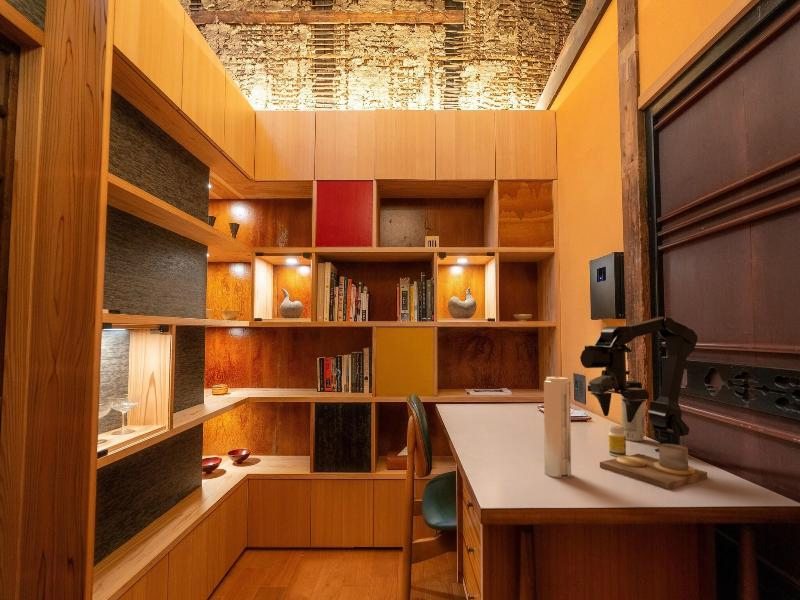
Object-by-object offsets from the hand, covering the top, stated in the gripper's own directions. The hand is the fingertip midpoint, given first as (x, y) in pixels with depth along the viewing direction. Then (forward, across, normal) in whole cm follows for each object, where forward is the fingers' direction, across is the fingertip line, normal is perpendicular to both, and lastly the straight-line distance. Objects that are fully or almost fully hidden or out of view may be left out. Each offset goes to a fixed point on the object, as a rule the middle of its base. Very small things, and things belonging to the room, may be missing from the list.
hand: (617, 419), depth 128 cm
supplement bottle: (+11, -1, 0) cm, 11 cm away
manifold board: (+11, +15, -3) cm, 19 cm away
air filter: (+10, +10, -29) cm, 32 cm away
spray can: (+12, -15, +20) cm, 28 cm away
